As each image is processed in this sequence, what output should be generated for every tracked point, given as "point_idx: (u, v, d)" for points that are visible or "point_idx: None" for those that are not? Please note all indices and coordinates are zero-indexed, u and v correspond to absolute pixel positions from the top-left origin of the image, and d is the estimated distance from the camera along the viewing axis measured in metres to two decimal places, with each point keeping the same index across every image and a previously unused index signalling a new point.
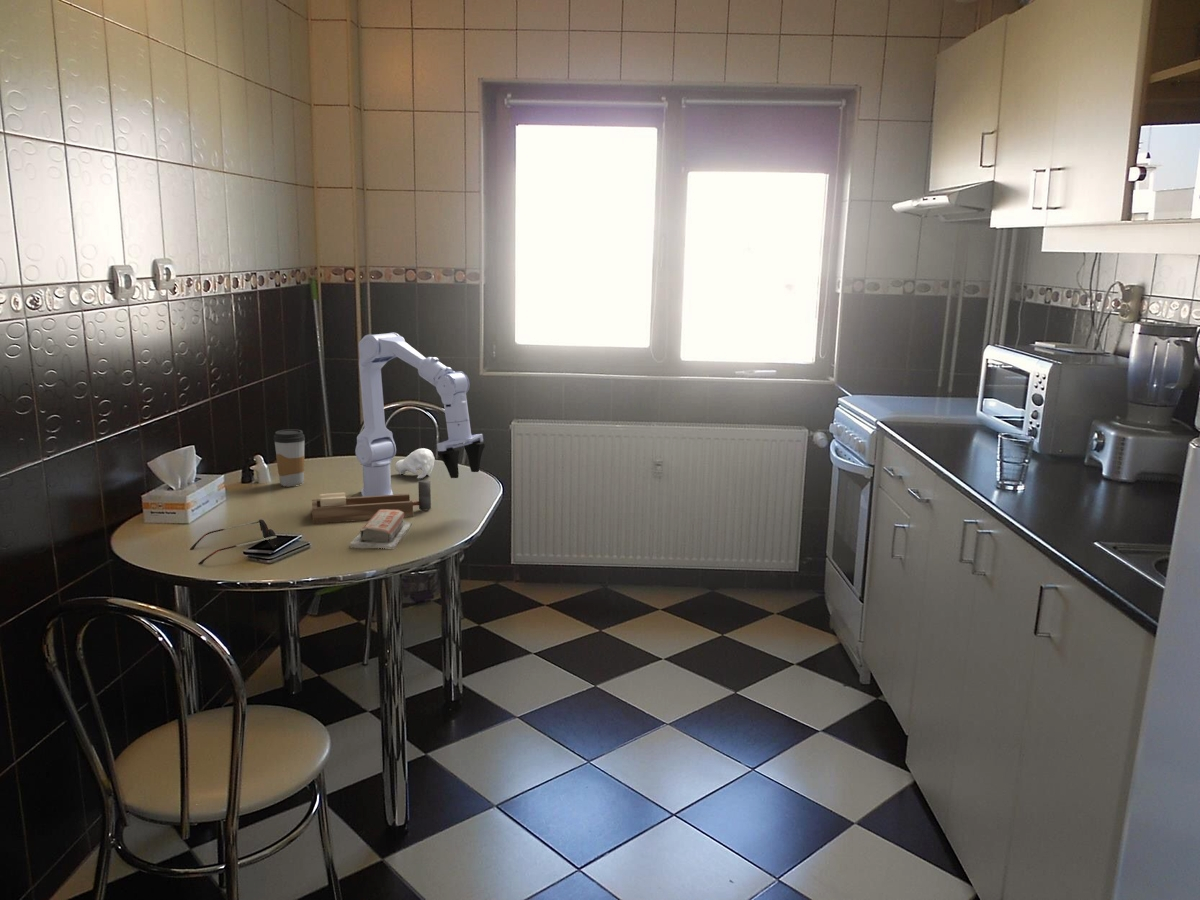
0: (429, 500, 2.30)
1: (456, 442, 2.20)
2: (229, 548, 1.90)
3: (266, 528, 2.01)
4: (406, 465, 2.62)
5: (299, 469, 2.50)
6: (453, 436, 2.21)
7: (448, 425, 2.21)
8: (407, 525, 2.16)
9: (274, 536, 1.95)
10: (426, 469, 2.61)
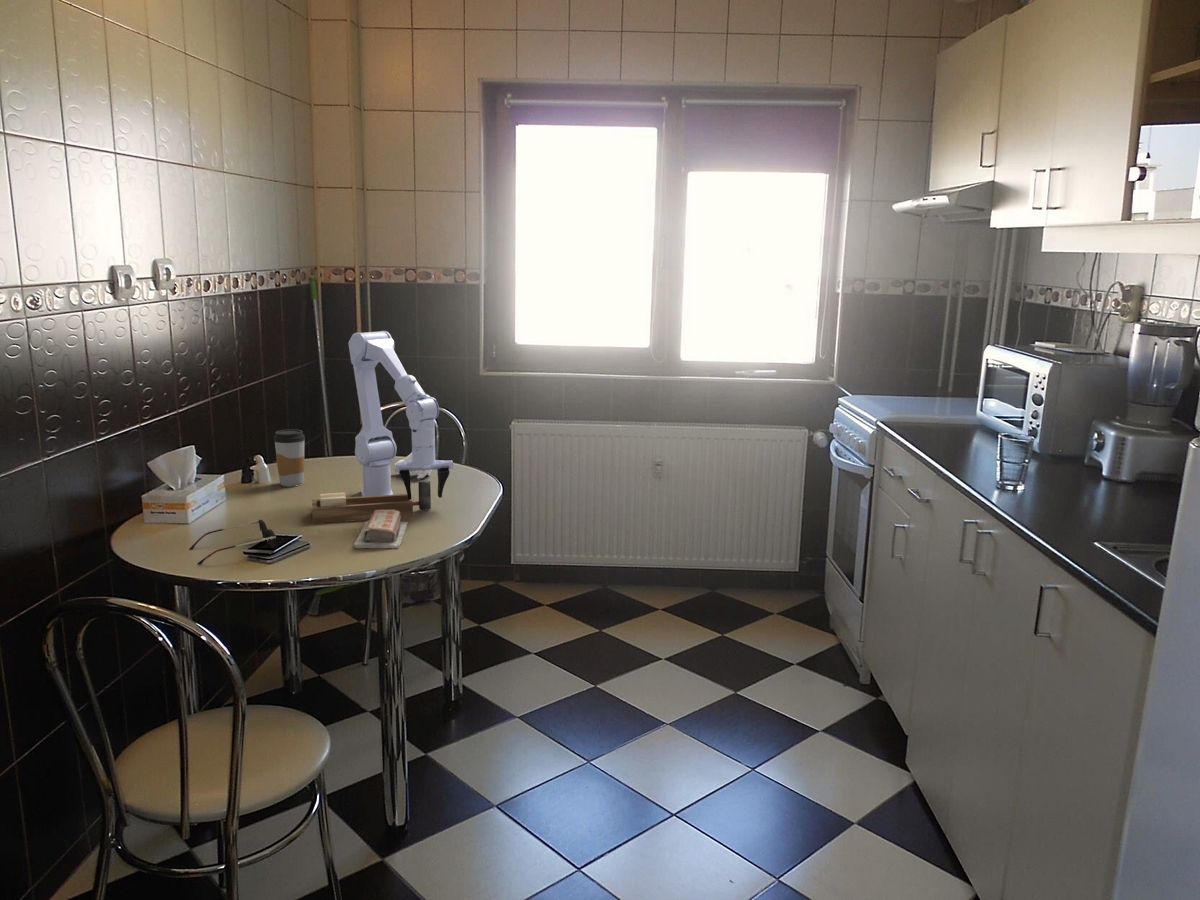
0: (429, 500, 2.30)
1: (410, 466, 2.25)
2: (228, 548, 1.90)
3: (265, 528, 2.01)
4: None
5: (299, 469, 2.50)
6: (412, 460, 2.26)
7: None
8: (404, 524, 2.16)
9: (273, 536, 1.95)
10: None
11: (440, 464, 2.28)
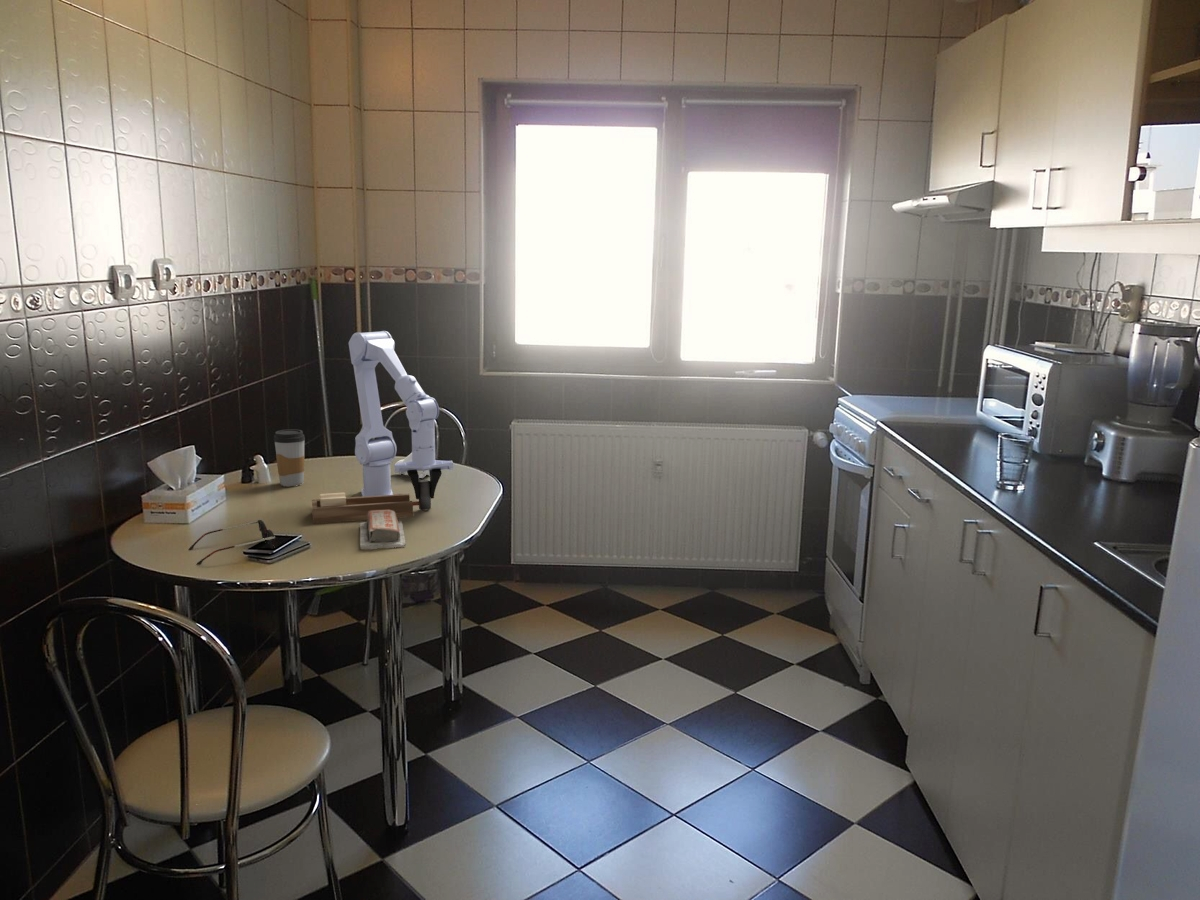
0: (429, 500, 2.30)
1: (410, 467, 2.25)
2: (227, 548, 1.90)
3: (265, 528, 2.01)
4: None
5: (299, 469, 2.50)
6: (412, 460, 2.27)
7: None
8: (400, 524, 2.16)
9: (272, 537, 1.95)
10: None
11: (440, 464, 2.28)
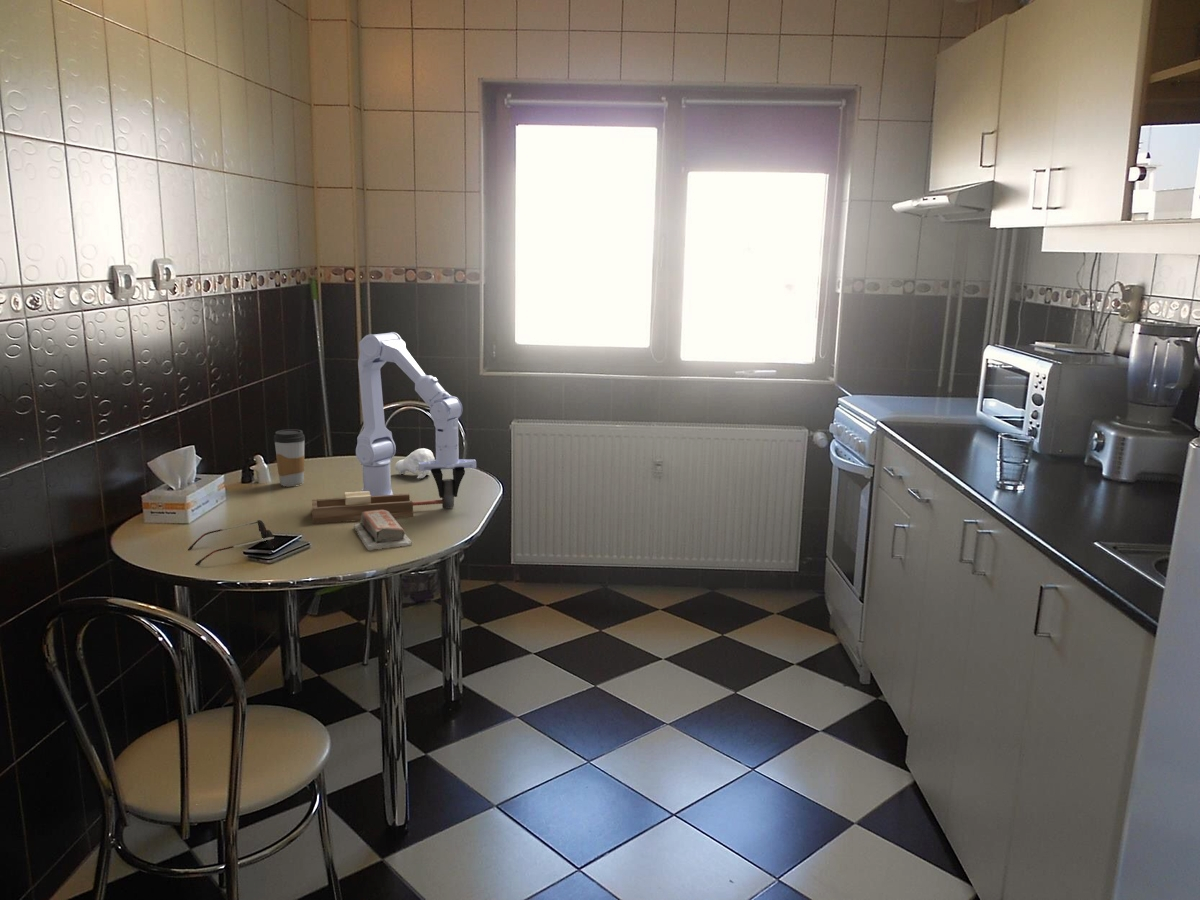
0: (452, 498, 2.31)
1: (434, 465, 2.27)
2: None
3: (264, 529, 2.01)
4: (406, 465, 2.62)
5: (299, 469, 2.50)
6: (436, 459, 2.28)
7: None
8: None
9: (271, 537, 1.95)
10: None
11: (463, 463, 2.29)
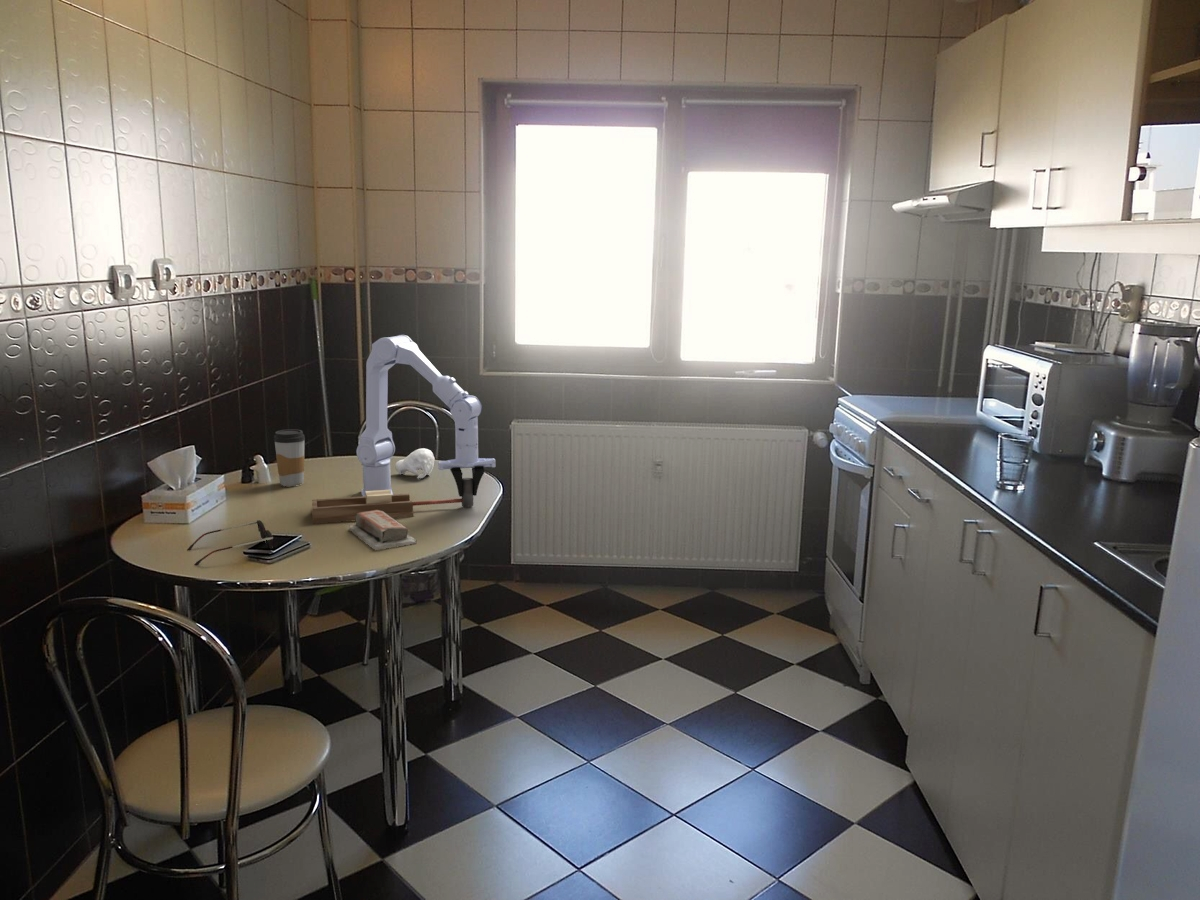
0: (472, 497, 2.33)
1: (454, 464, 2.29)
2: (225, 549, 1.90)
3: (263, 529, 2.01)
4: (406, 465, 2.62)
5: (299, 469, 2.50)
6: (456, 458, 2.30)
7: None
8: None
9: (271, 537, 1.94)
10: (426, 469, 2.61)
11: (483, 462, 2.31)
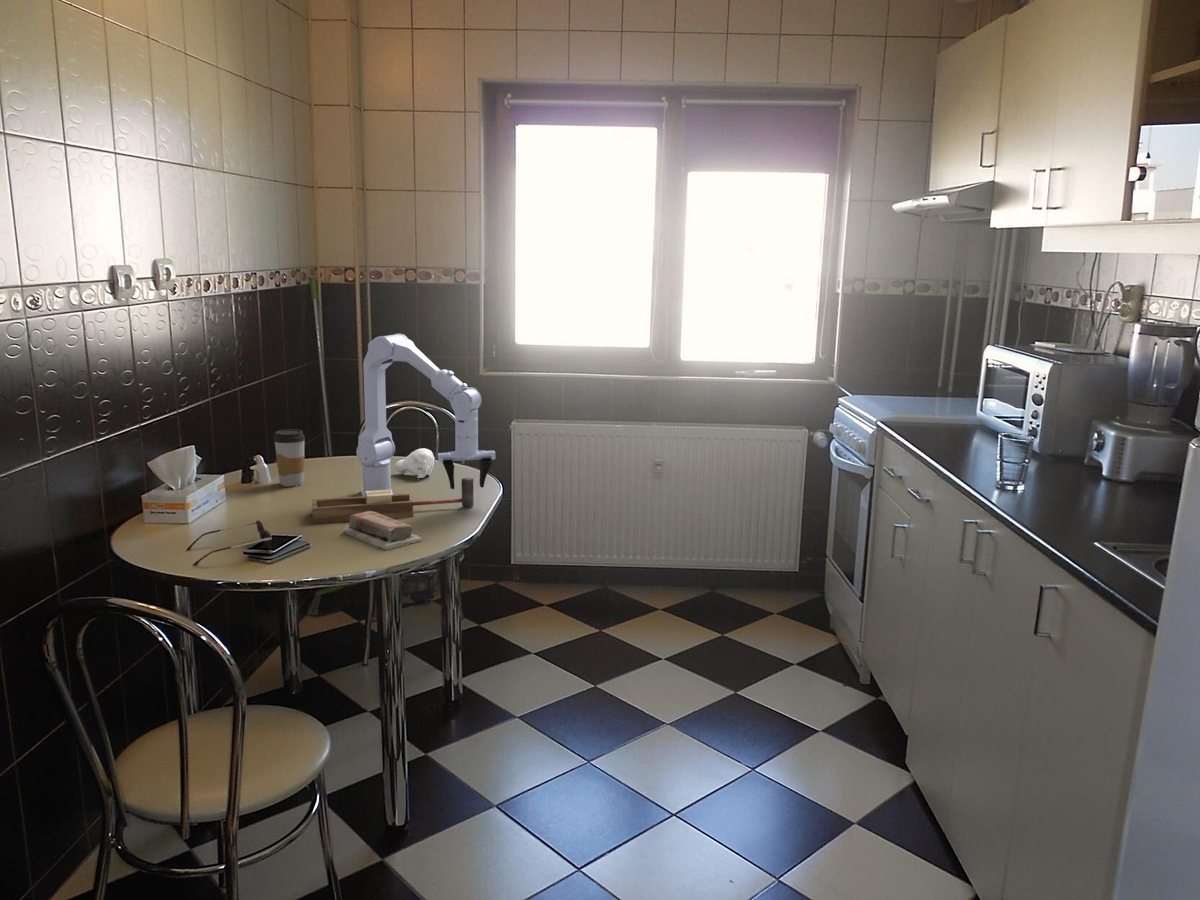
0: (472, 497, 2.33)
1: (454, 456, 2.28)
2: (224, 549, 1.89)
3: (262, 529, 2.00)
4: (406, 465, 2.62)
5: (299, 469, 2.50)
6: (456, 450, 2.29)
7: (455, 438, 2.30)
8: None
9: (269, 538, 1.94)
10: (426, 469, 2.61)
11: (483, 454, 2.31)
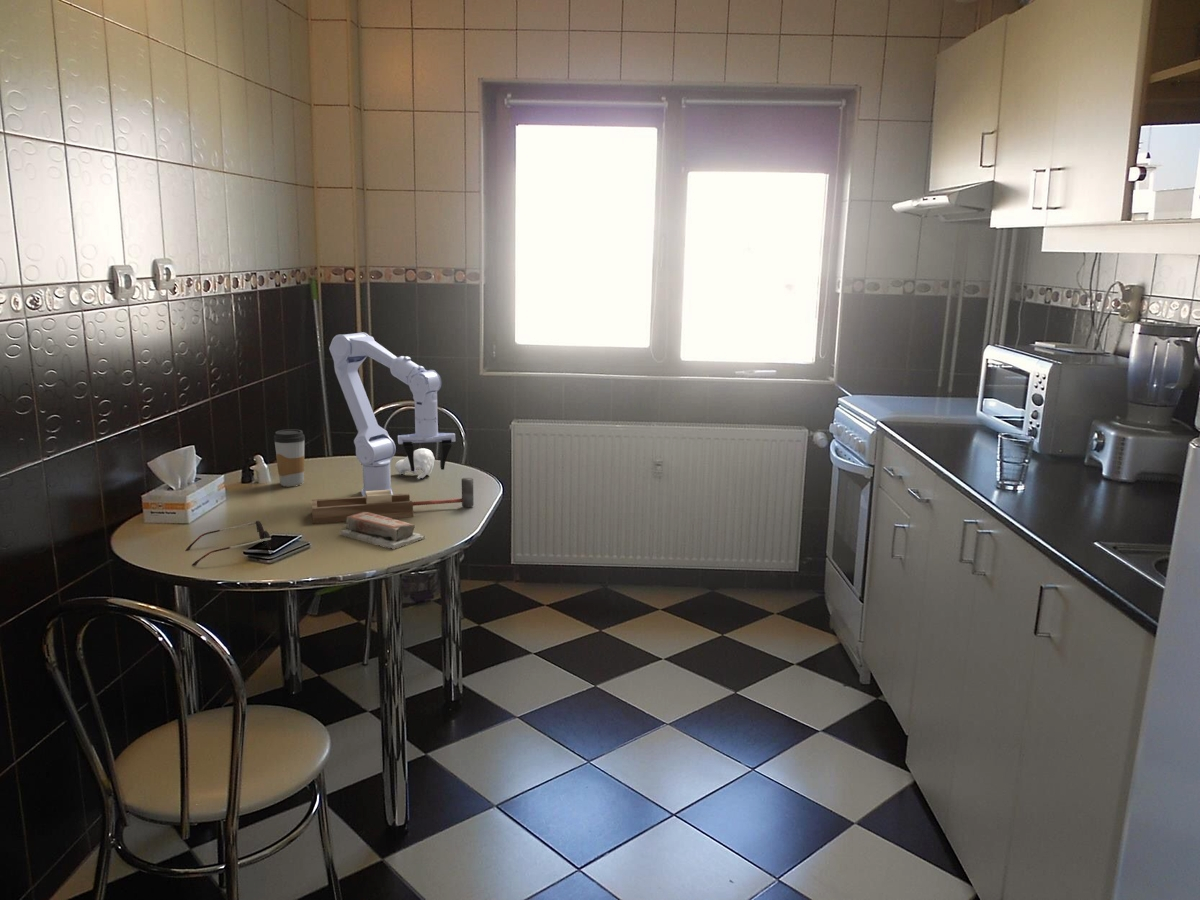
0: (472, 497, 2.33)
1: (413, 438, 2.29)
2: None
3: (262, 530, 2.00)
4: (406, 465, 2.62)
5: (299, 469, 2.50)
6: (415, 432, 2.30)
7: None
8: None
9: (268, 538, 1.94)
10: (426, 469, 2.61)
11: (443, 436, 2.31)
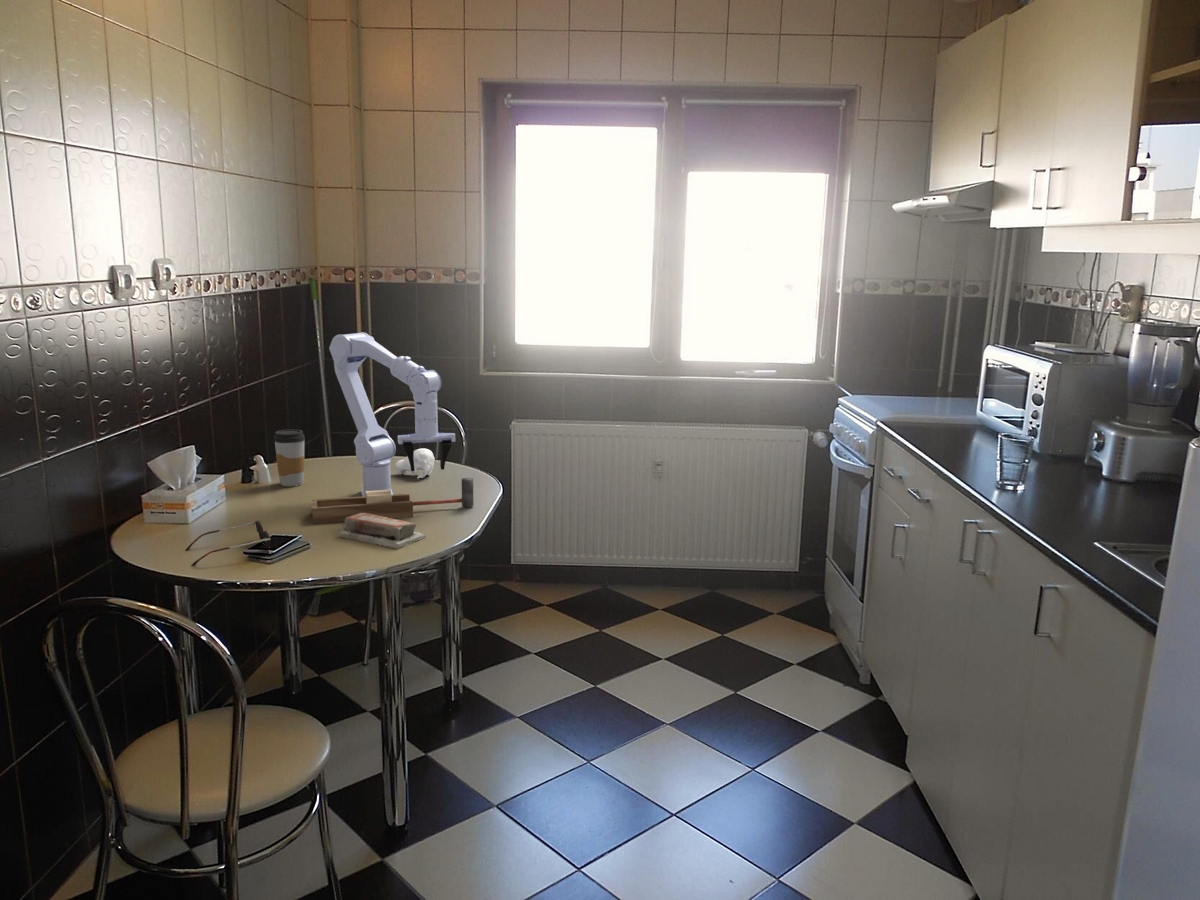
0: (472, 497, 2.33)
1: (413, 438, 2.29)
2: None
3: (261, 530, 2.00)
4: (406, 465, 2.62)
5: (299, 469, 2.50)
6: (415, 432, 2.30)
7: None
8: None
9: (268, 538, 1.94)
10: (426, 469, 2.61)
11: (443, 436, 2.31)
